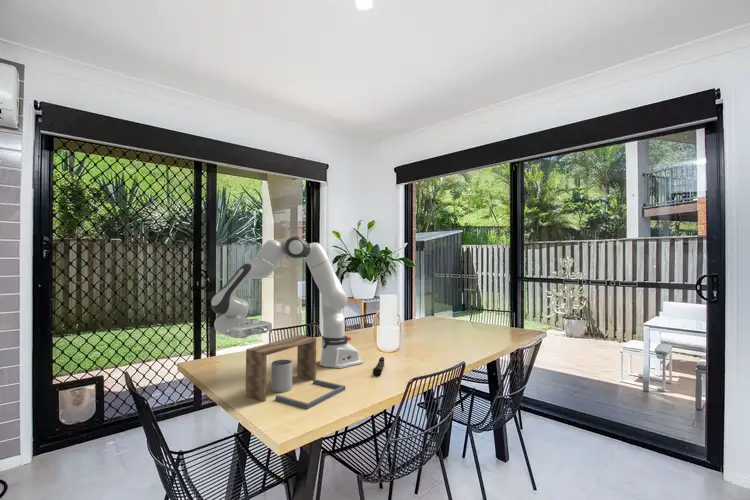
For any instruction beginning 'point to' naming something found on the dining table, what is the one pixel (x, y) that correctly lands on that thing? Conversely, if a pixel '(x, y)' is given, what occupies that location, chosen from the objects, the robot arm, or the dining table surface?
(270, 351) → the wooden bridge arch
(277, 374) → the mug
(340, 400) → the dining table surface
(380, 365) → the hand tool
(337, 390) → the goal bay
